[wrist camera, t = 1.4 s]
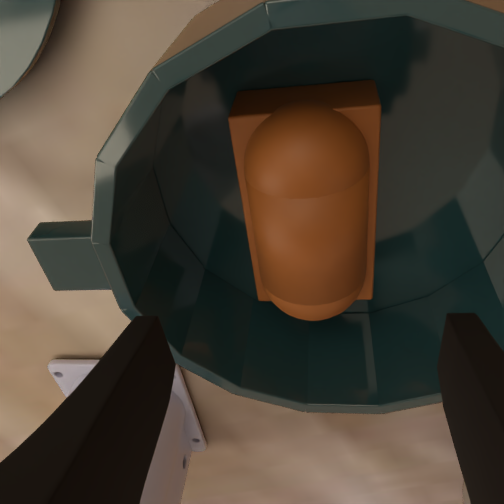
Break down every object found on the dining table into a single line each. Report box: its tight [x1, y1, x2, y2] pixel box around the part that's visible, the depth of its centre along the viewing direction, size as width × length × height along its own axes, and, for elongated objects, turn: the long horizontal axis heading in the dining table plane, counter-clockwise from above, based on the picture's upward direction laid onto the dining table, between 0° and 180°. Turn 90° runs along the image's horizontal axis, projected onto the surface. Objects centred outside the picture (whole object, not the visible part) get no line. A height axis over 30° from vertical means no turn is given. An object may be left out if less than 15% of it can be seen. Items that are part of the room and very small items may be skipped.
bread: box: [228, 80, 381, 321], centre depth 17 cm, size 8×5×4 cm, turn 7°
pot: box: [27, 0, 504, 414], centre depth 16 cm, size 15×21×6 cm
